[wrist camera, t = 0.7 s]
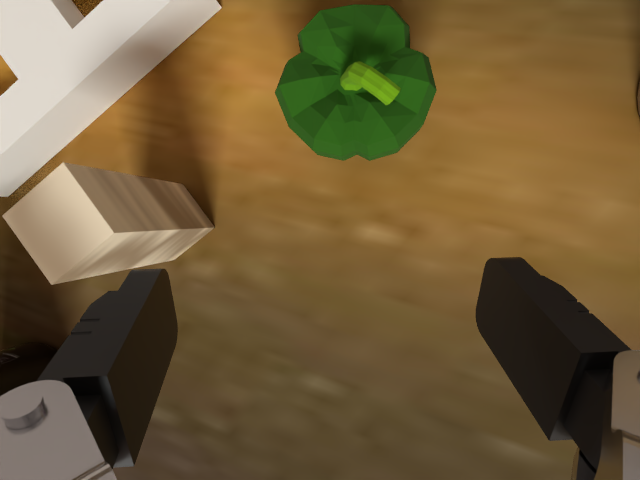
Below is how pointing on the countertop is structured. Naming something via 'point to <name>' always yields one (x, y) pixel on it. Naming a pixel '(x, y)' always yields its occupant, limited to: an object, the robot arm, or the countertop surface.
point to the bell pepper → (356, 83)
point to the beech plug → (104, 222)
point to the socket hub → (77, 68)
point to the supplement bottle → (23, 364)
